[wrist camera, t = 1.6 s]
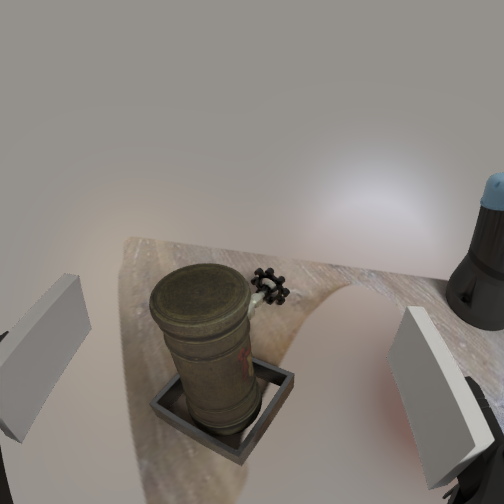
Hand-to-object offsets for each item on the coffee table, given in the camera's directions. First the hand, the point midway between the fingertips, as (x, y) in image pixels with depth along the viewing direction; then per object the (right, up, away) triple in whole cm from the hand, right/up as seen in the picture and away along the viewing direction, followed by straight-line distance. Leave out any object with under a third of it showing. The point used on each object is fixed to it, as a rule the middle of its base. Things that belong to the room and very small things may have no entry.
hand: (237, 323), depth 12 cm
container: (-3, -16, +24) cm, 28 cm away
